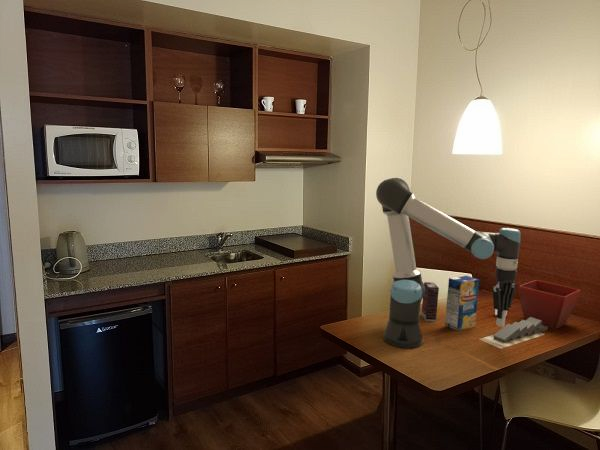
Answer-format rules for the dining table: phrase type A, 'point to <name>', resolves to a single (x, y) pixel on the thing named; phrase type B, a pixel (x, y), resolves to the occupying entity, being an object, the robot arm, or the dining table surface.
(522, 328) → the domino
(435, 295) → the supplement box
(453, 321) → the beverage box
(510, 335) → the domino
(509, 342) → the board
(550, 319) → the plant pot
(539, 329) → the domino
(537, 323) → the domino
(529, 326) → the domino
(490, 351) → the dining table surface
